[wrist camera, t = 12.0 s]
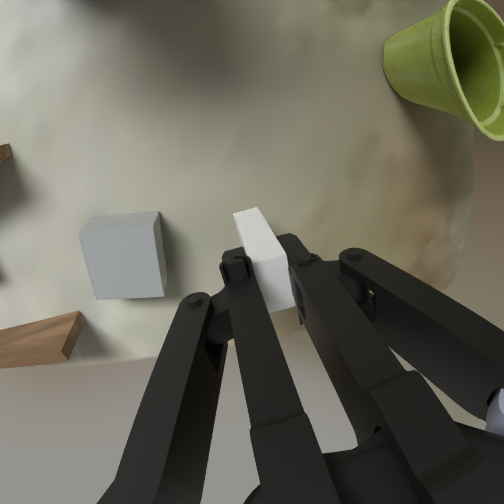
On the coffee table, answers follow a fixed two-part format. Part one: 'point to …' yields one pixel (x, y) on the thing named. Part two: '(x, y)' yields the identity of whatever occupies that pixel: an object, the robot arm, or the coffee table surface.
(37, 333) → the frame
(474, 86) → the plant pot
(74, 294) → the coffee table surface
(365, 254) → the robot arm
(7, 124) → the coffee table surface
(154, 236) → the tile
